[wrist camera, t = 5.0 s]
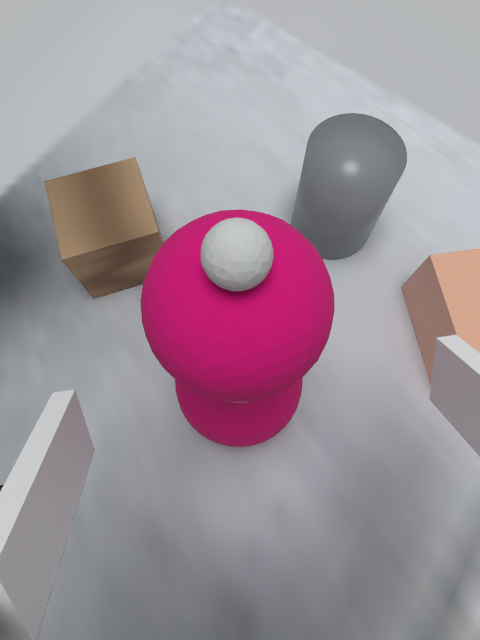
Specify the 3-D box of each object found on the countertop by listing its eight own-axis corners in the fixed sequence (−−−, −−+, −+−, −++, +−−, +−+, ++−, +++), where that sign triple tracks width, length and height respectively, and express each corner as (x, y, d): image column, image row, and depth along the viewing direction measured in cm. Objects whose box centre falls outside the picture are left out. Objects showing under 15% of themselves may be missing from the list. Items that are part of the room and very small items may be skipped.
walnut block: (94, 299, 31) (61, 259, 25) (78, 231, 33) (44, 181, 27) (173, 275, 31) (158, 231, 26) (153, 210, 33) (135, 157, 28)
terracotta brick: (432, 395, 28) (471, 379, 24) (400, 288, 31) (429, 255, 26) (489, 386, 28) (539, 369, 24) (452, 281, 31) (491, 247, 27)
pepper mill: (263, 327, 30) (304, 76, 11) (311, 421, 28) (465, 308, 9) (169, 368, 29) (35, 171, 10) (211, 470, 26) (140, 462, 8)
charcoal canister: (299, 264, 32) (318, 199, 24) (284, 198, 34) (297, 119, 26) (377, 254, 32) (419, 186, 24) (357, 189, 34) (391, 108, 26)
